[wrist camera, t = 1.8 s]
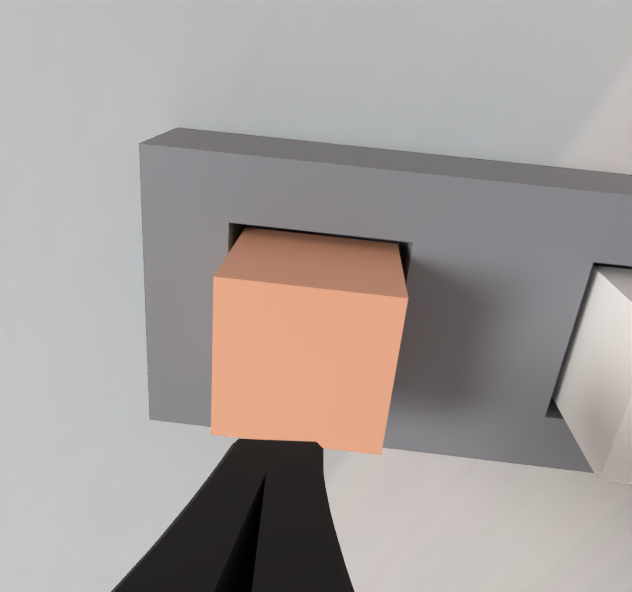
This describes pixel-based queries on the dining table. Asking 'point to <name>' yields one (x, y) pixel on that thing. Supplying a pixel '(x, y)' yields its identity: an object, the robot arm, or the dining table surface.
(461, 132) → the dining table surface
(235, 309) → the block
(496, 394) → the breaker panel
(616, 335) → the block
